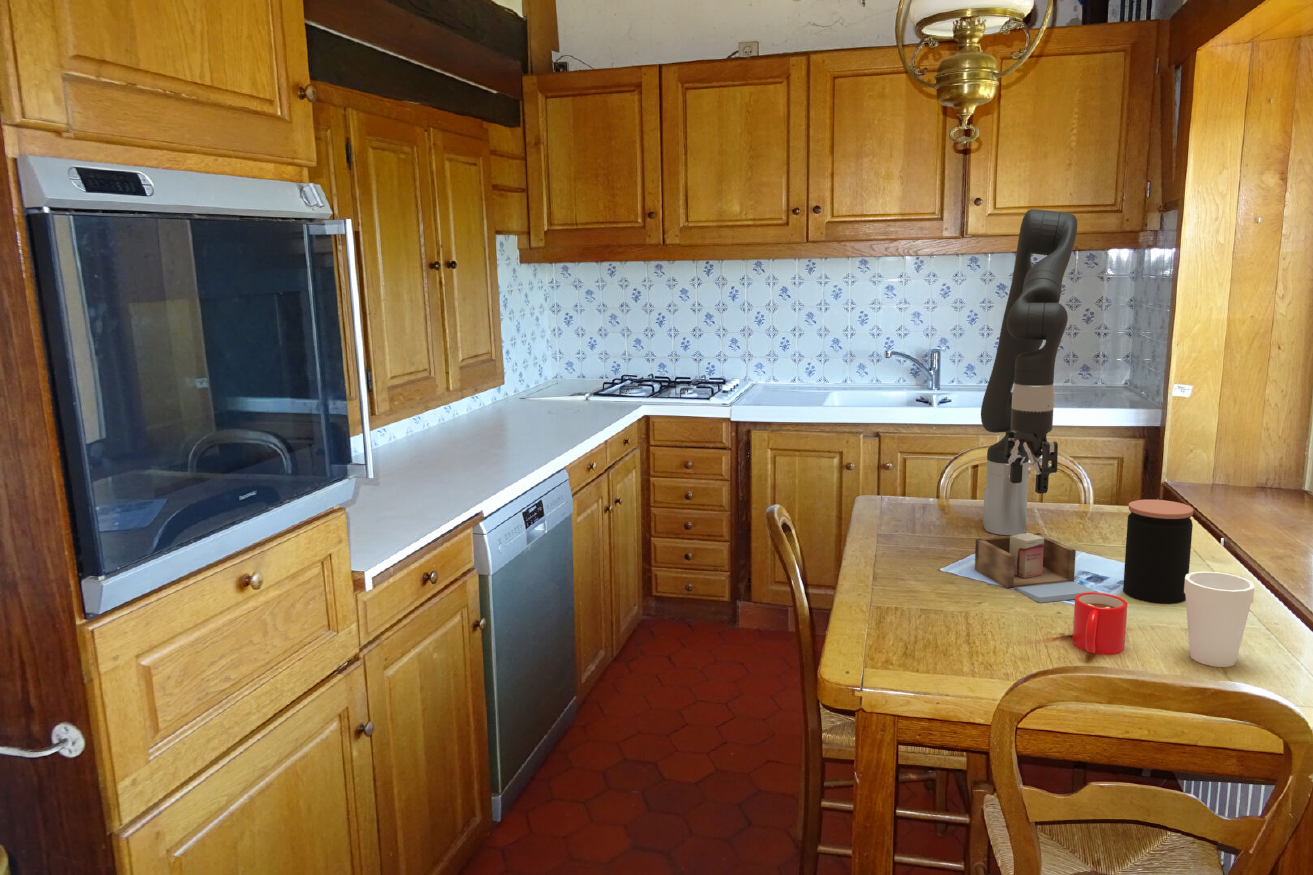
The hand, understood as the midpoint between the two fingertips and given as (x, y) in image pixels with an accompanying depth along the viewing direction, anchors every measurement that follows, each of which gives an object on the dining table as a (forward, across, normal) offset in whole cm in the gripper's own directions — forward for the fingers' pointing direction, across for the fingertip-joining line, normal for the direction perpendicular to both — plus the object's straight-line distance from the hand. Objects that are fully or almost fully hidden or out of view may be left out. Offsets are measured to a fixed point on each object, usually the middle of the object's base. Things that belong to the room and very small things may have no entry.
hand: (1028, 487), depth 180 cm
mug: (+19, -32, +7) cm, 38 cm away
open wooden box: (+19, +1, 0) cm, 19 cm away
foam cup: (+19, -40, -8) cm, 45 cm away
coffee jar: (+19, -15, -18) cm, 30 cm away
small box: (+18, 0, 0) cm, 18 cm away
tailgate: (+18, -6, 0) cm, 19 cm away
